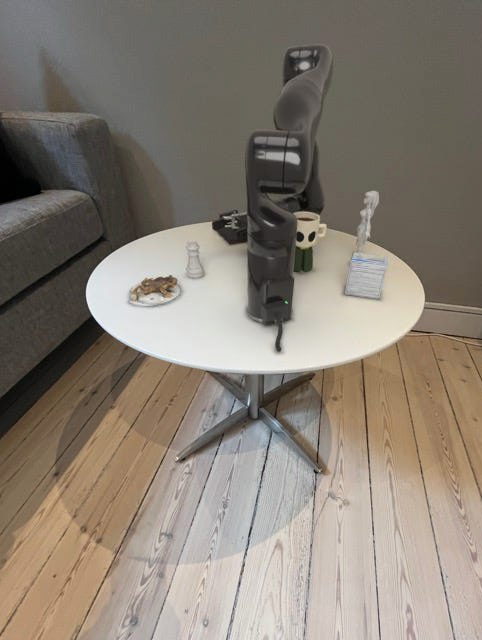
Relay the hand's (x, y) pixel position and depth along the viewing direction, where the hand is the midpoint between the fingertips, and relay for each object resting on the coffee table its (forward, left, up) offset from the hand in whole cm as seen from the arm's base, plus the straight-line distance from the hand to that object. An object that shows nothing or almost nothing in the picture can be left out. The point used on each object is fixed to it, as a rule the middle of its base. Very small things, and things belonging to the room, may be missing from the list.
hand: (224, 231), depth 96 cm
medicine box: (-28, -23, -8) cm, 37 cm away
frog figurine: (-9, +21, -8) cm, 24 cm away
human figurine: (-15, -31, -8) cm, 36 cm away
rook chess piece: (-4, +10, -8) cm, 13 cm away
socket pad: (+16, -11, -8) cm, 21 cm away
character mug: (-11, -16, -8) cm, 21 cm away
